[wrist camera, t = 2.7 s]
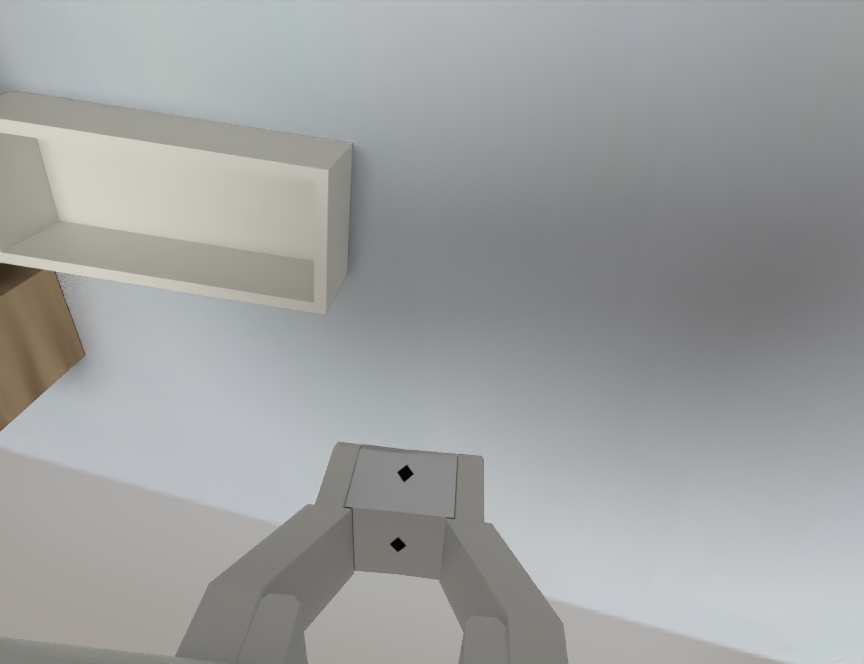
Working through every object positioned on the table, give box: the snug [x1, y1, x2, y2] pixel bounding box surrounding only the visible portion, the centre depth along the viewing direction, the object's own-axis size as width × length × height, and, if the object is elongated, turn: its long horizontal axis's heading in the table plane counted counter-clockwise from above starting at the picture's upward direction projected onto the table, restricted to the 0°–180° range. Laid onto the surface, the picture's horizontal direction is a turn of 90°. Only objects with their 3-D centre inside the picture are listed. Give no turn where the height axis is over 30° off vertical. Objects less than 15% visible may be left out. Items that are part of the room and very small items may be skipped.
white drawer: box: [0, 91, 353, 315], centre depth 22 cm, size 14×6×4 cm, turn 83°
